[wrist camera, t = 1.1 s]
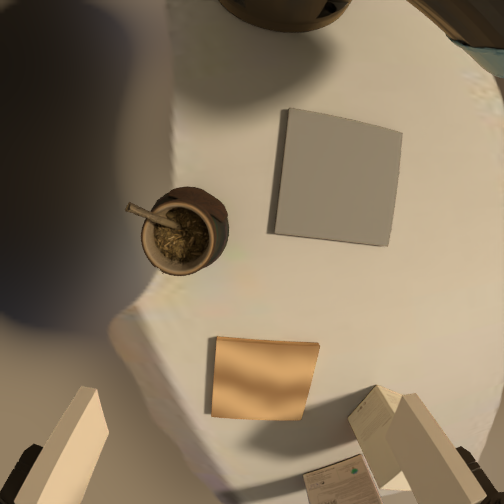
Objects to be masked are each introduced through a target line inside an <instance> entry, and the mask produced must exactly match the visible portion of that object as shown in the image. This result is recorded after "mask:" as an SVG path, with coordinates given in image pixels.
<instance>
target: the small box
mask: <svg viewBox="0 0 504 504" xmlns="http://www.w3.org/2000/svg"><path fill="white" fill-rule="evenodd" d="M401 397H402V395H401V394H398V393H396V392H393V391H391V390H388V389H386V388H383V387H381V386H378V385H376V386H375V387H374V388H373V389H372V391H371V392H370V393H369V394H368V395H367V396H366V398H365V399H364V400H363V401H362V402H361V403H360V405H359V406H358V407H357V408H356V409H355V410H354V411H353V412H352V414H351V415H350V416H349V417H348V421H349V423H350V425H351V427H352V430H353V432H354V434H355V436H356V438H357V440H358V443H359V445H360V447H361V449H362V451H363V454H364V456H365V458H366V460H367V462H368V464H369V467H370V469H371V471H372V473H373V475H374V478H375V480H376V482H377V484H378V487H379V489H386V490H402V491H412V490H411V488H410V486H409V484H408V482H407V480H406V478H405V476H404V474H403V472H402V470H401V468H400V466H399V464H398V462H397V460H396V458H395V456H394V454H393V452H392V450H391V448H390V446H389V444H388V442H387V440H386V438H385V435H386V433H387V431H388V428H389V426H390V424H391V422H392V419H393V417H394V414H395V412H396V410H397V407H398V405H399V402H400V400H401Z"/></svg>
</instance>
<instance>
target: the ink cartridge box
mask: <svg viewBox="0 0 504 504" xmlns="http://www.w3.org/2000/svg"><path fill="white" fill-rule="evenodd" d="M303 478H304V482H305V487H306V491H307V496H308V500H309V504H383V501H382V499H381V497H380V494H379V492H378V490H377V487H376V485H375V483H374V481H373V478H372V476H371V474H370V471H369V469H368V467H367V465H366V462H365V460H364V458H363V455H358V456H356V457H353V458H351V459H348V460H346V461H343V462H340V463H337V464H335V465H332V466H329V467H326V468H323V469H320V470H317V471H314V472H310V473H307V474H304V475H303Z"/></svg>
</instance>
